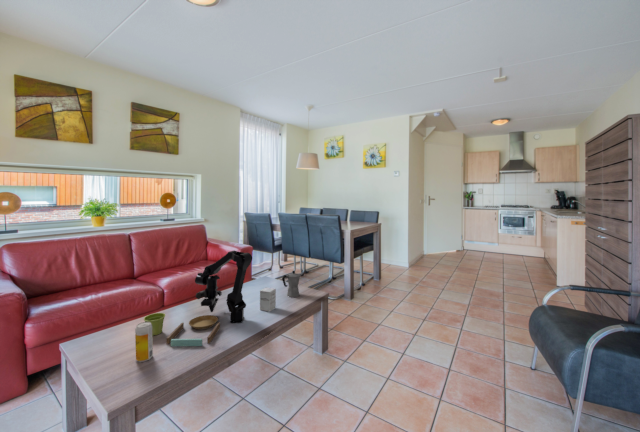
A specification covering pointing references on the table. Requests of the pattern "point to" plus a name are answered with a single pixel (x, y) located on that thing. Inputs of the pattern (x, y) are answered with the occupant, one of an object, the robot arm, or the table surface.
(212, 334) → the lane walls
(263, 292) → the supplement box
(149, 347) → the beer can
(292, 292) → the coffeepot
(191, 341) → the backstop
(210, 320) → the plant saucer
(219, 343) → the table surface
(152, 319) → the plant pot
